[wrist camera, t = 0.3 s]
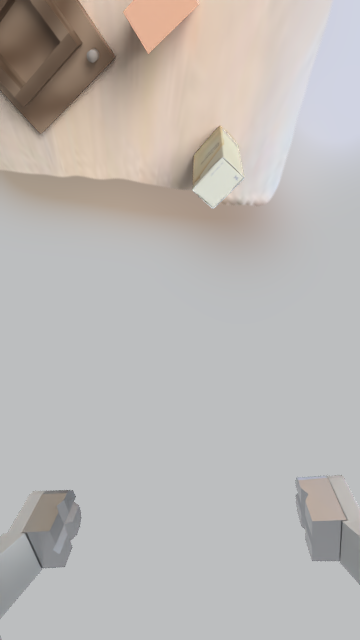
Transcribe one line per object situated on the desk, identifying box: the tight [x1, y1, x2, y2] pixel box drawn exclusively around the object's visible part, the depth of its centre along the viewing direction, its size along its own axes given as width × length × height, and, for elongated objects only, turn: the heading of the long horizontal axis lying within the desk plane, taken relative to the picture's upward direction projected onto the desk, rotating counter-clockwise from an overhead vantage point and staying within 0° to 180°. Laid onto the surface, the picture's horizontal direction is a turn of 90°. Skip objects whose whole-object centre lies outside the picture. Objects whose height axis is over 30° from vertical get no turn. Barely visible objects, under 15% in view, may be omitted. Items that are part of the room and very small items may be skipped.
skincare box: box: [192, 126, 245, 208], centre depth 47 cm, size 6×4×12 cm
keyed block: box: [123, 0, 199, 54], centre depth 35 cm, size 4×6×11 cm, turn 125°
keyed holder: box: [0, 0, 115, 134], centre depth 41 cm, size 16×16×4 cm
